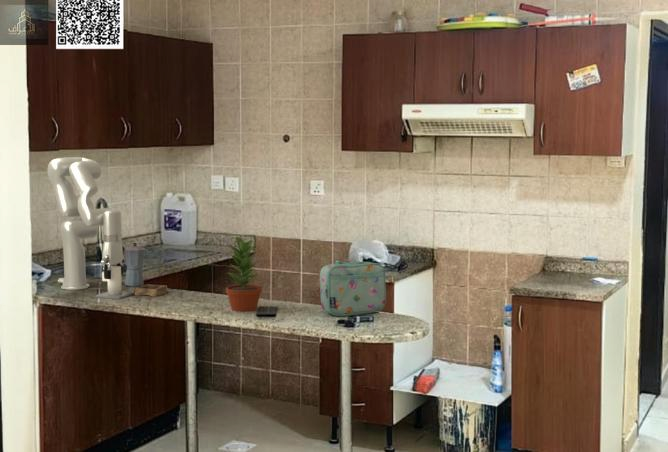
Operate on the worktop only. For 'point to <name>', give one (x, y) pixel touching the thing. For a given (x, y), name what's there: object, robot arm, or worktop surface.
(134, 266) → the moka pot
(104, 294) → the plate
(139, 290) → the holder
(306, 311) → the worktop surface
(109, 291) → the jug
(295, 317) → the worktop surface
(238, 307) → the potted plant
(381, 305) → the lunch box
